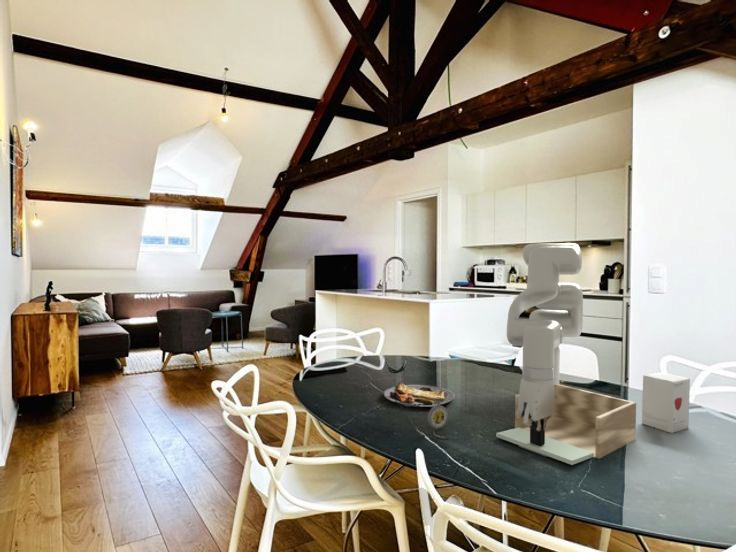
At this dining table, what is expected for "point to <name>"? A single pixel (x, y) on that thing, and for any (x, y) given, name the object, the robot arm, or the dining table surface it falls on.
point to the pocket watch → (435, 414)
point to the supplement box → (666, 401)
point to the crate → (588, 420)
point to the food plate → (418, 395)
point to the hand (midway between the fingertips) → (537, 443)
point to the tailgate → (546, 446)
